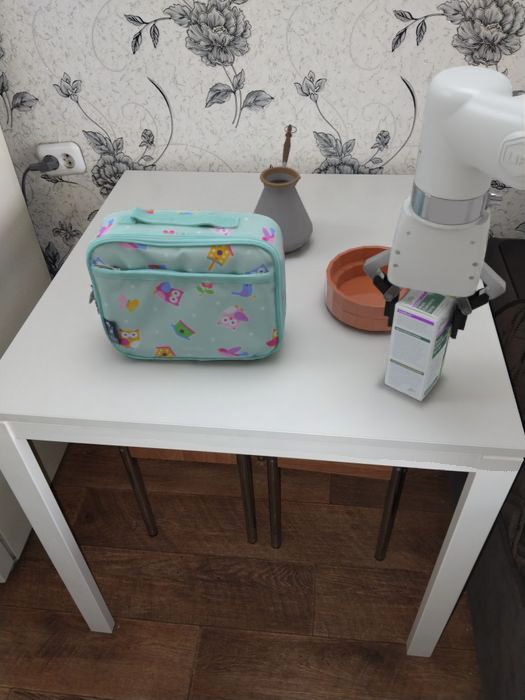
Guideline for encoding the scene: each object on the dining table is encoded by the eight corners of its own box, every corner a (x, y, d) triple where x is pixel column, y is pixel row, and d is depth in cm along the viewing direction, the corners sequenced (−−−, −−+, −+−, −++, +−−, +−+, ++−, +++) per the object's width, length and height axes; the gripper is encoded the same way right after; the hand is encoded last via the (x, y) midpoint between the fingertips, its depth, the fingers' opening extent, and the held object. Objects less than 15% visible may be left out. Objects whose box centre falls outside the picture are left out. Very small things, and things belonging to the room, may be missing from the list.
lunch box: (99, 365, 85) (58, 240, 70) (116, 318, 92) (82, 195, 77) (285, 368, 83) (283, 240, 68) (287, 320, 90) (286, 195, 76)
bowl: (428, 282, 96) (434, 254, 92) (415, 343, 86) (421, 315, 82) (337, 266, 100) (339, 239, 96) (314, 324, 90) (315, 296, 86)
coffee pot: (309, 262, 101) (311, 182, 90) (243, 258, 103) (237, 179, 92) (320, 198, 116) (322, 123, 106) (262, 195, 118) (259, 121, 107)
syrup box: (421, 403, 78) (441, 320, 68) (381, 383, 80) (395, 302, 70) (440, 377, 81) (462, 294, 71) (401, 359, 84) (417, 277, 73)
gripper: (537, 191, 62) (496, 319, 74) (372, 171, 66) (359, 295, 78) (536, 229, 57) (493, 360, 69) (357, 205, 61) (347, 332, 73)
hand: (422, 324), depth 74 cm, fingers closed on syrup box, 7 cm apart
